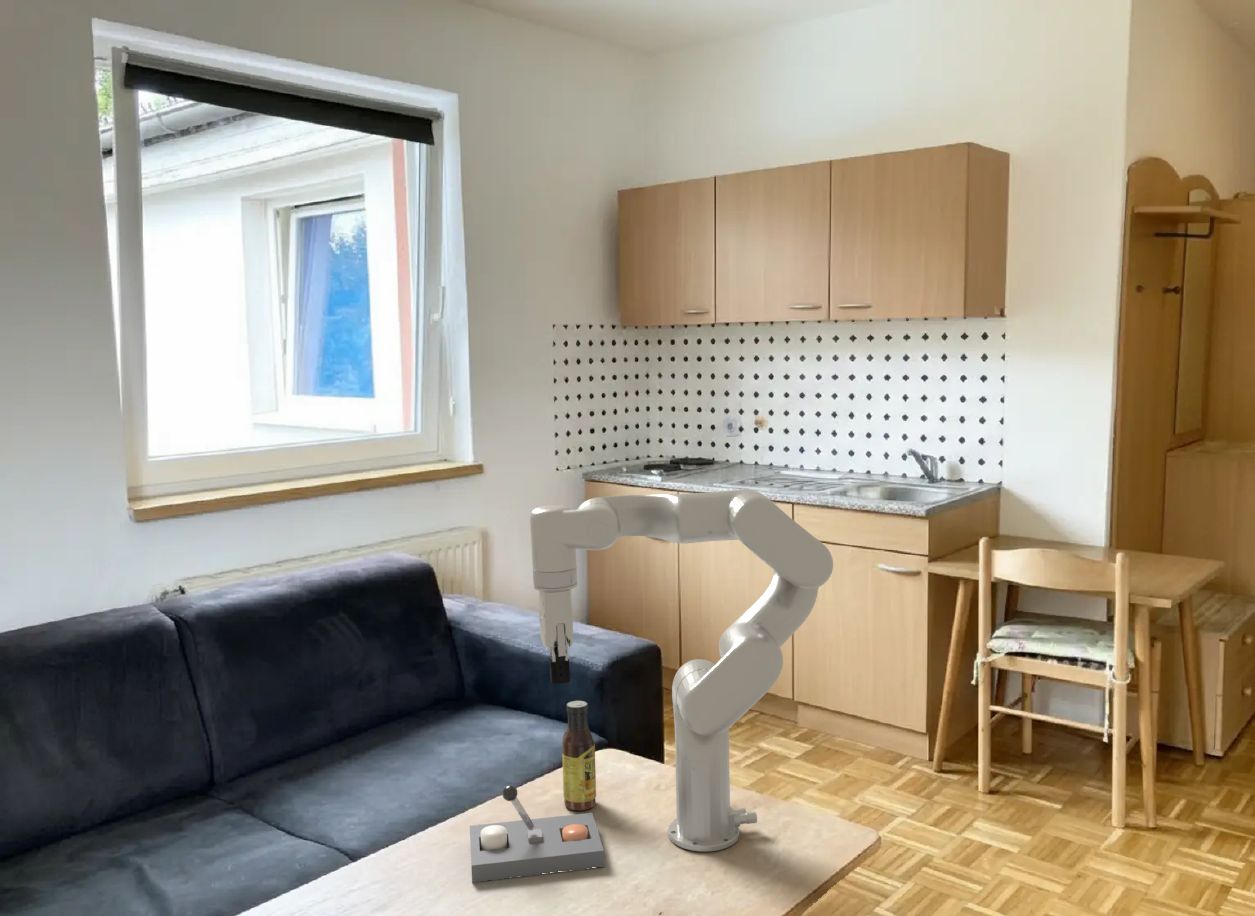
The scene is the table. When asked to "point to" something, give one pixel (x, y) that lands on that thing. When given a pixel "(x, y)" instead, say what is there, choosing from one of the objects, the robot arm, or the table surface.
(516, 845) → the control panel
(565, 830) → the terracotta button
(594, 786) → the sauce bottle
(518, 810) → the toggle lever
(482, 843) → the offwhite button
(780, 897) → the table surface
